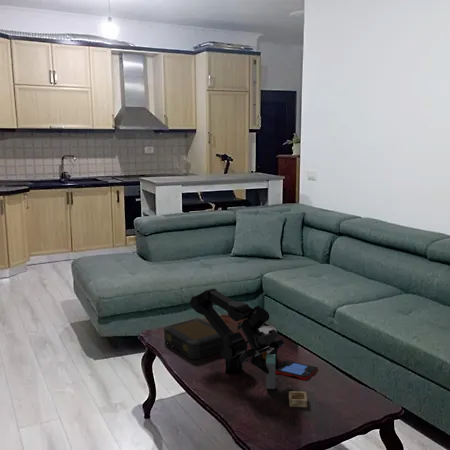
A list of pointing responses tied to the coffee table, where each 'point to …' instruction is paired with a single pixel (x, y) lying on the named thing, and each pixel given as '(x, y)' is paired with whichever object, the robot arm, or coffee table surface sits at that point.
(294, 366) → the game console
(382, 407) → the coffee table surface
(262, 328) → the disposable coffee cup
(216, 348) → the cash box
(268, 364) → the teal-topped square pillar
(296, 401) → the open wooden box
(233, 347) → the robot arm
